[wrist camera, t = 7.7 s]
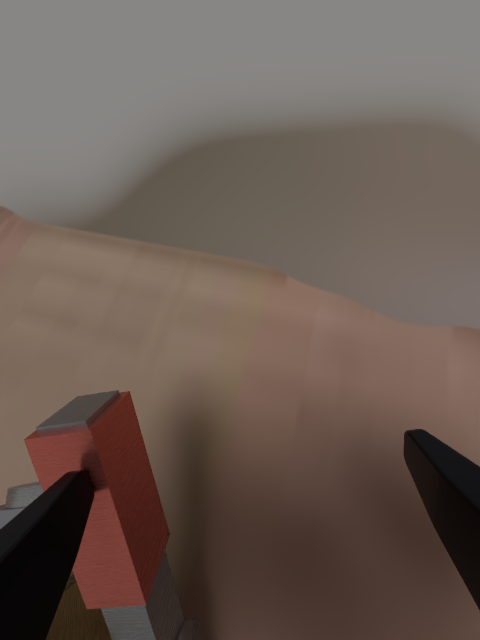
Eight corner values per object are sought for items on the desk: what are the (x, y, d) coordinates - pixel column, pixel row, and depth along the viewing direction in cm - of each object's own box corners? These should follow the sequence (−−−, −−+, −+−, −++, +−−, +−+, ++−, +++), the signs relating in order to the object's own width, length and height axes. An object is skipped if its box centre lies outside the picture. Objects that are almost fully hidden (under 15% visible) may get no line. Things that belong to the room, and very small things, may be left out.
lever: (190, 760, 11) (83, 429, 8) (136, 760, 11) (14, 439, 8) (205, 651, 13) (131, 383, 11) (162, 653, 14) (79, 391, 11)
